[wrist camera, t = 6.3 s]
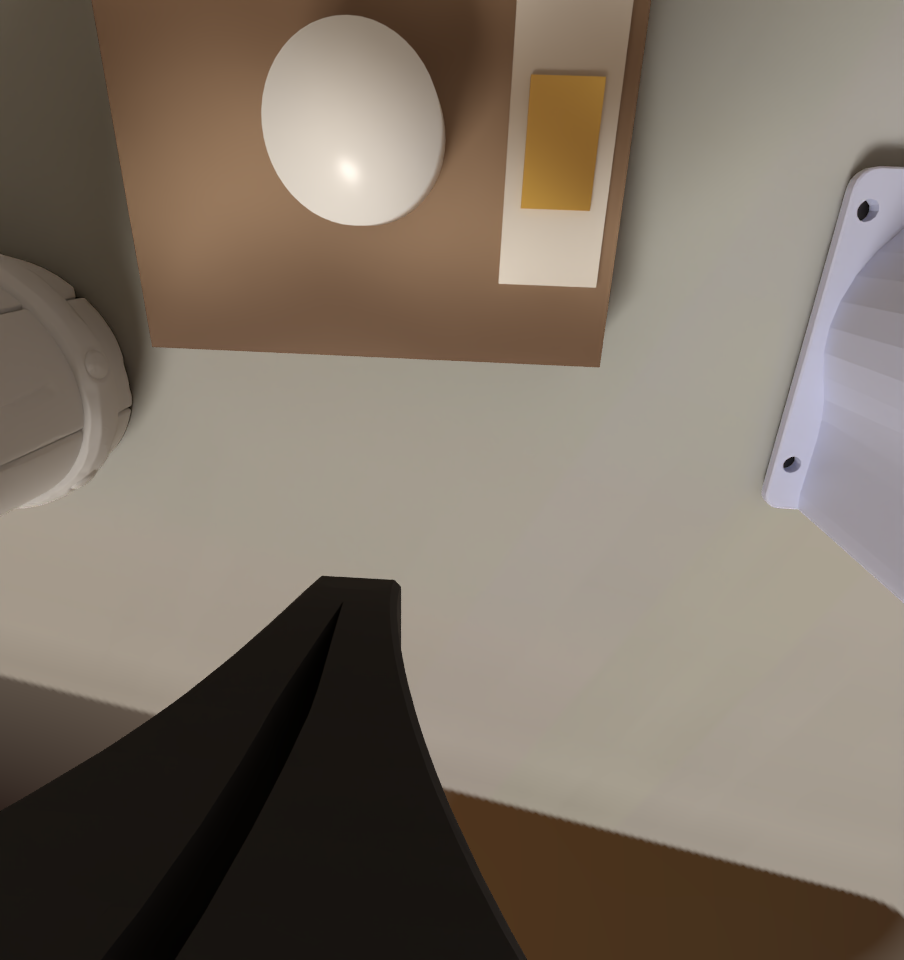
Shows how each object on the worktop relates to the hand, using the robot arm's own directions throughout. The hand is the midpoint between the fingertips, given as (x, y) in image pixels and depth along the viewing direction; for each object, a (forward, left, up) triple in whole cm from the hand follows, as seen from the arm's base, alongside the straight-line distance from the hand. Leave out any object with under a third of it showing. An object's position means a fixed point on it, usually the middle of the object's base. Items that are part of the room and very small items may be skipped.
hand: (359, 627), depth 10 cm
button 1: (+8, +1, -7) cm, 11 cm away
